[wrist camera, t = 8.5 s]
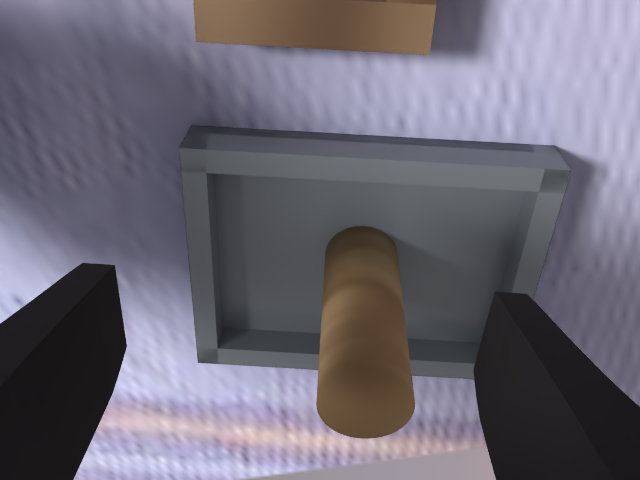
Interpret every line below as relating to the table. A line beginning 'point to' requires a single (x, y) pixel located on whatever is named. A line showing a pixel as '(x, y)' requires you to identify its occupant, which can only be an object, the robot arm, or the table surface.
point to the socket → (319, 24)
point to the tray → (359, 210)
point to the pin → (363, 337)
